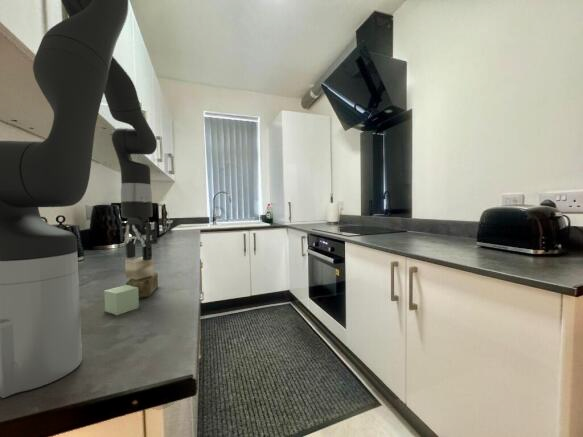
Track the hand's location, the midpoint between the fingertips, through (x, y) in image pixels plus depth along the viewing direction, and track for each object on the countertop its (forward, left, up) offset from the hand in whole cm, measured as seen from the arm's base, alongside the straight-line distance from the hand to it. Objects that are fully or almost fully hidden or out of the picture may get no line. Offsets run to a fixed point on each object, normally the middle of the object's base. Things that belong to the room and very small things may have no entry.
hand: (138, 258), depth 73 cm
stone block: (+1, 0, -10) cm, 10 cm away
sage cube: (-9, -8, -10) cm, 16 cm away
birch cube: (0, 0, -5) cm, 5 cm away
